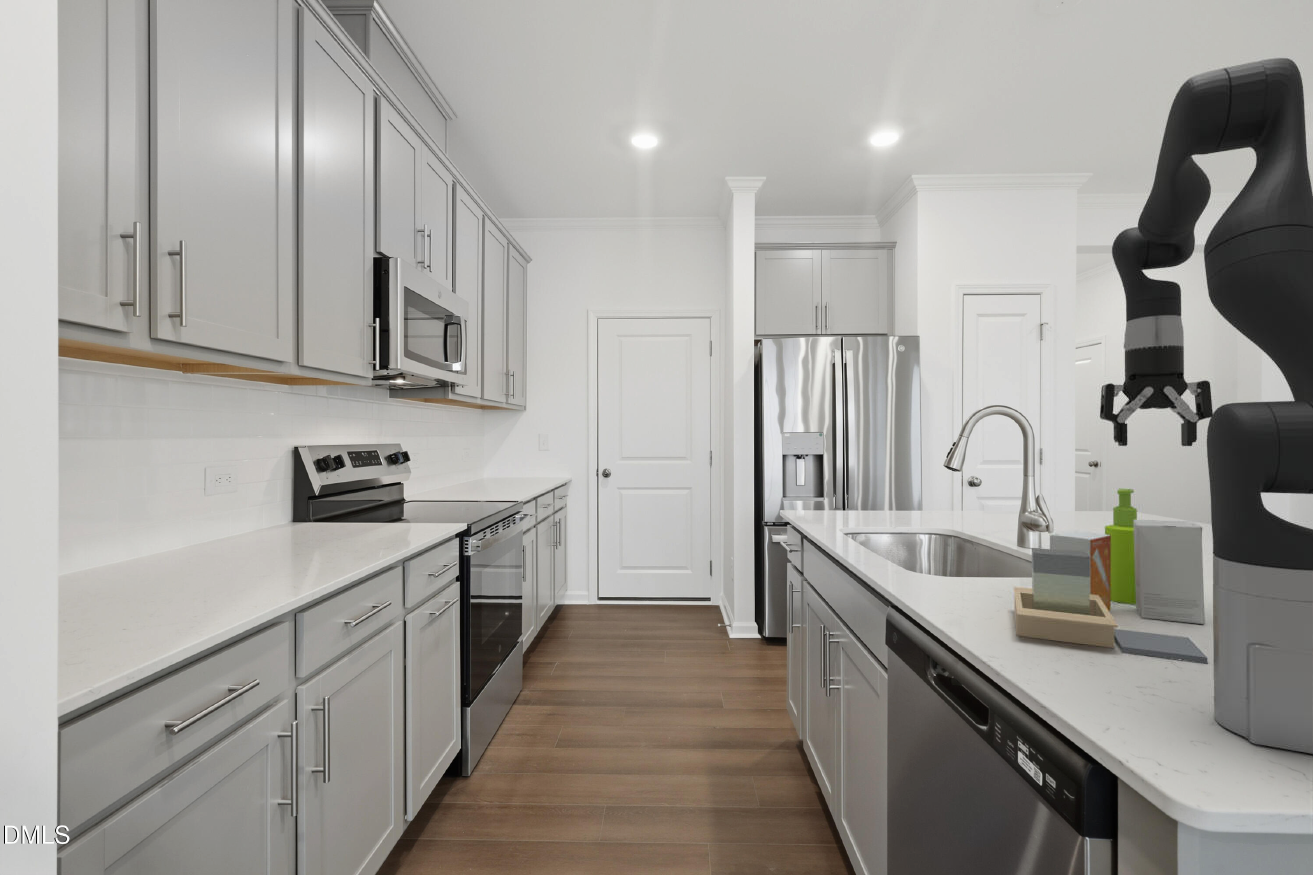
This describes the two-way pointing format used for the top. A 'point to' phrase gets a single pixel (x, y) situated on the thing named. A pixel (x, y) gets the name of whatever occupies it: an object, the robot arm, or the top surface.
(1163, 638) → the mat
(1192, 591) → the skincare box
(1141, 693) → the top surface
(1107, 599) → the small box
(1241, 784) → the top surface
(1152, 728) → the top surface
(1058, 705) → the top surface
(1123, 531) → the soap dispenser
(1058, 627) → the wooden rectangular frame
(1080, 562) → the tea tin
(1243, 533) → the robot arm
